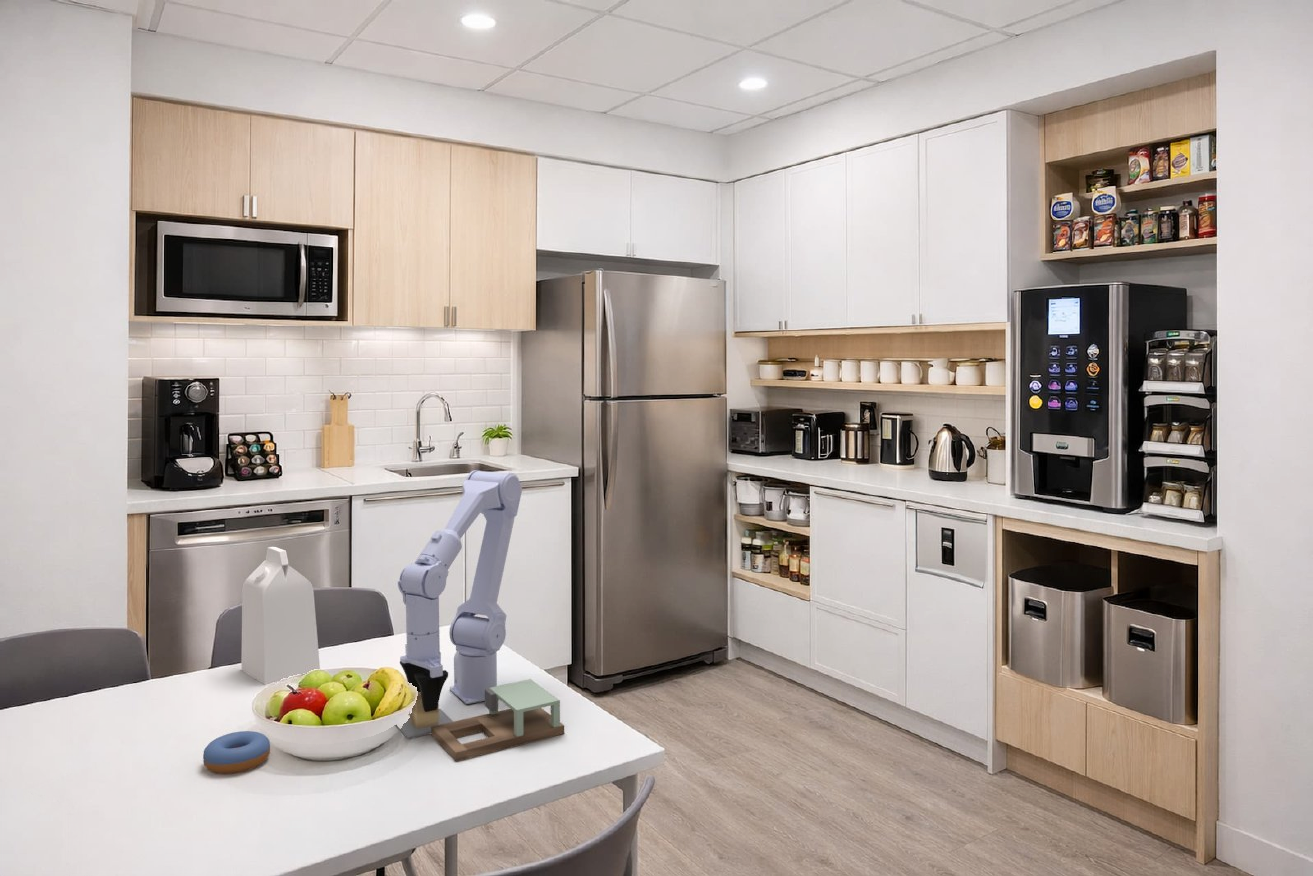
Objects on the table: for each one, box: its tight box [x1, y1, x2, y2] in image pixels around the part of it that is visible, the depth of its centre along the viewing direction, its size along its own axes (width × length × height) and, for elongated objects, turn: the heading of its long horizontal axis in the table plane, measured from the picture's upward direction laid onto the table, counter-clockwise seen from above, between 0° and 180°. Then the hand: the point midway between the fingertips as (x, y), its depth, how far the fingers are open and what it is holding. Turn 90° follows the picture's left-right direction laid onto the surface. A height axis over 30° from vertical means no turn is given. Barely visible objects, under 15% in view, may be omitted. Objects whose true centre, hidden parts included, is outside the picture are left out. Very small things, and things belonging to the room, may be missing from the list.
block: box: [409, 692, 440, 729], centre depth 158 cm, size 4×4×5 cm
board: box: [430, 708, 565, 762], centre depth 154 cm, size 12×20×2 cm, turn 123°
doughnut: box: [202, 730, 271, 775], centre depth 143 cm, size 10×10×5 cm
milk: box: [240, 546, 321, 686], centre depth 184 cm, size 12×12×26 cm
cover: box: [484, 678, 561, 737], centre depth 157 cm, size 12×9×5 cm
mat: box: [399, 708, 454, 740], centre depth 158 cm, size 9×9×1 cm
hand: (424, 704), depth 158 cm, fingers open, 6 cm apart
